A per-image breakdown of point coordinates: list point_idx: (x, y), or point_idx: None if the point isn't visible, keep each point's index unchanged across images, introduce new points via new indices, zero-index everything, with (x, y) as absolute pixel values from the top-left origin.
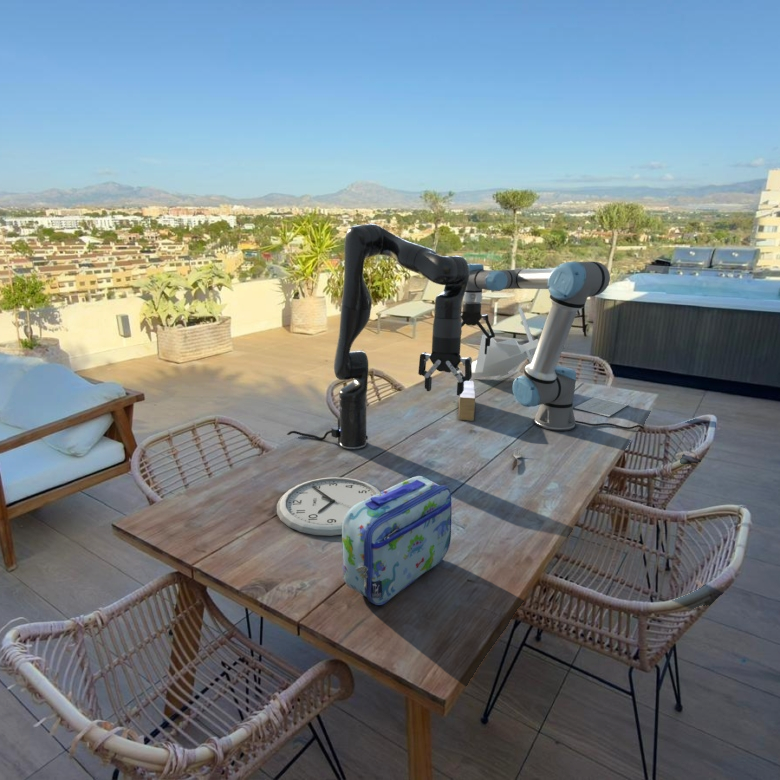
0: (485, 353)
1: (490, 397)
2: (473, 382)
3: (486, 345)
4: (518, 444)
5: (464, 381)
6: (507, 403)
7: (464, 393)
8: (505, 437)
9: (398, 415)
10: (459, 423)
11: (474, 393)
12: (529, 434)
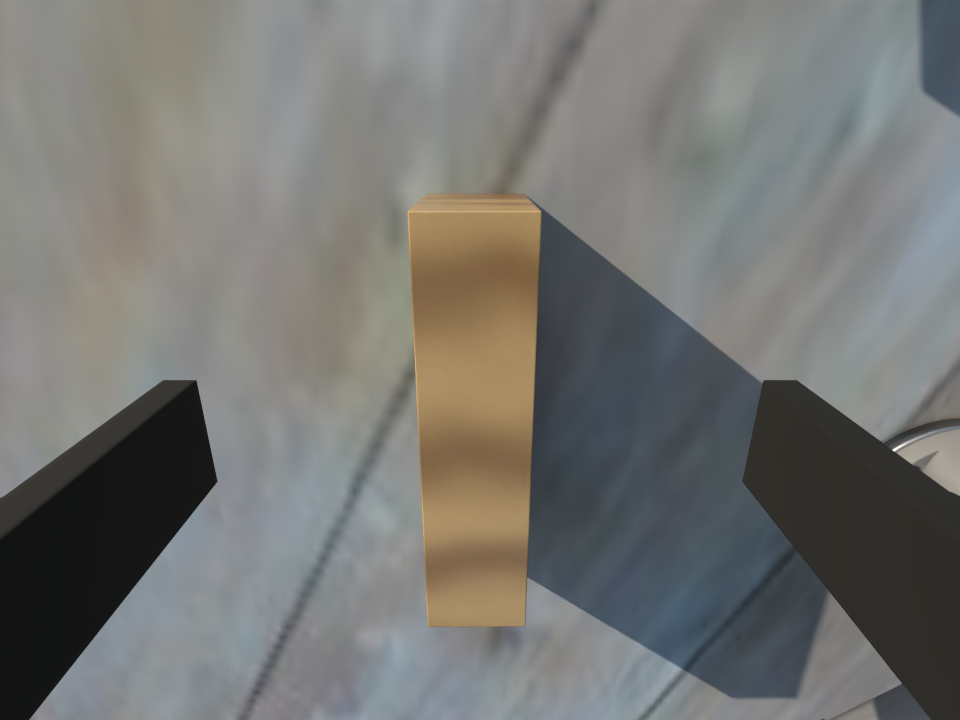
0: (760, 488)
1: (678, 54)
2: (536, 263)
3: (862, 604)
4: (676, 712)
5: (451, 246)
6: (776, 192)
7: (455, 555)
8: (638, 667)
9: None
10: None
11: (526, 545)
12: (752, 628)
